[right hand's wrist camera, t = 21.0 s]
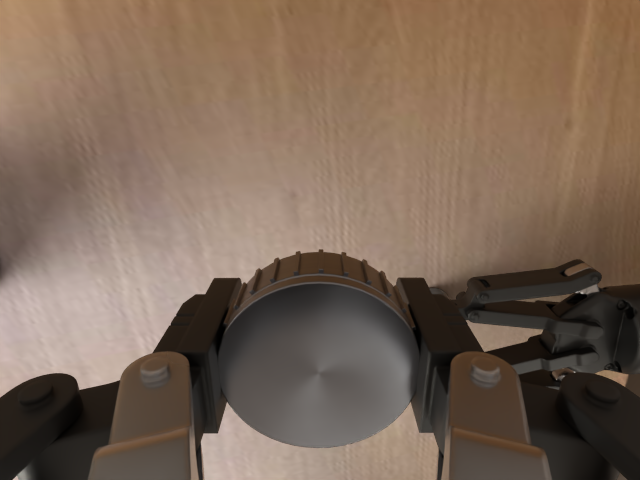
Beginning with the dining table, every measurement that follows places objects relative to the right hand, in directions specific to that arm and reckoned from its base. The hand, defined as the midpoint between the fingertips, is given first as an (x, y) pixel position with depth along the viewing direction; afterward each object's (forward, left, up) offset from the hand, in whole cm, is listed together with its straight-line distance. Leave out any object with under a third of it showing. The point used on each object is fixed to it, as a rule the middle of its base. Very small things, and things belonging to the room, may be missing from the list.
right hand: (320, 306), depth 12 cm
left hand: (+16, -4, -19) cm, 26 cm away
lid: (0, 0, +3) cm, 3 cm away
